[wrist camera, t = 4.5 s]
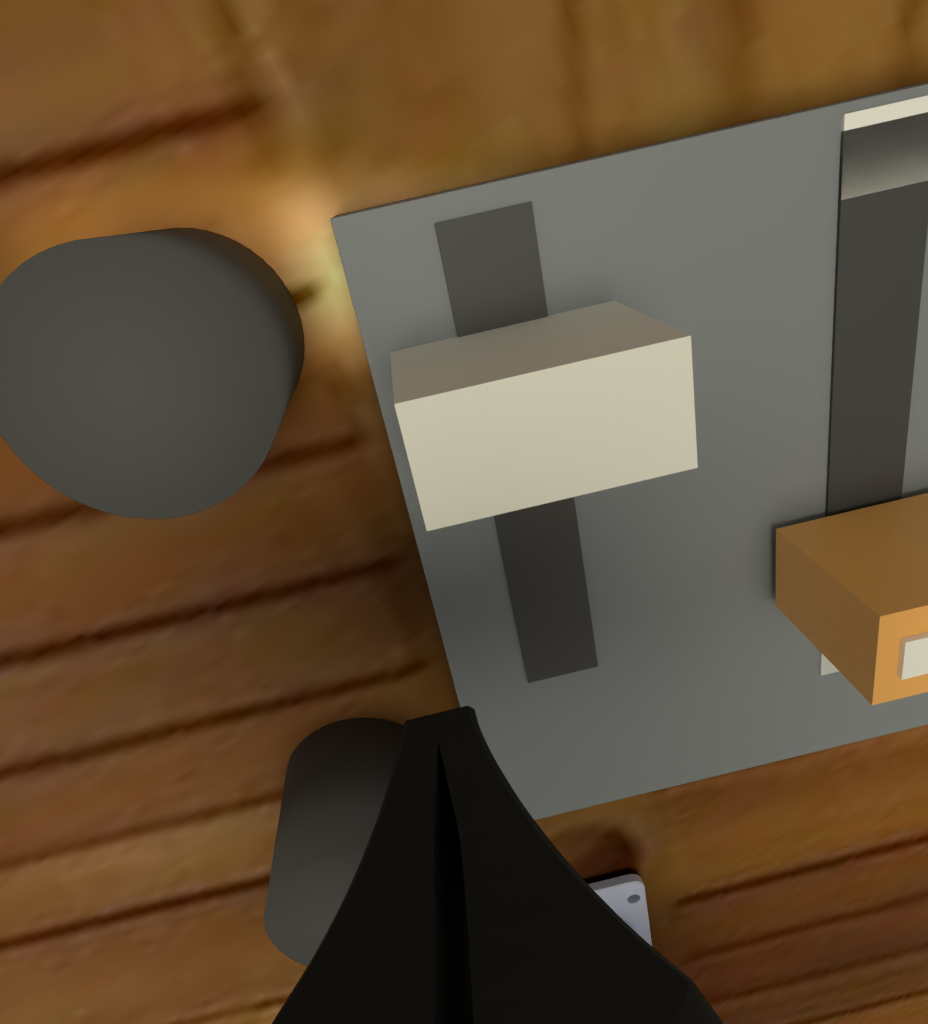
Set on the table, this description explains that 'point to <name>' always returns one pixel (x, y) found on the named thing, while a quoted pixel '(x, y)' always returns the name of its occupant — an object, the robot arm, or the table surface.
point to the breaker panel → (675, 526)
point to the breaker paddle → (862, 593)
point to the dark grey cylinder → (325, 827)
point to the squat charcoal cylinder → (146, 368)
